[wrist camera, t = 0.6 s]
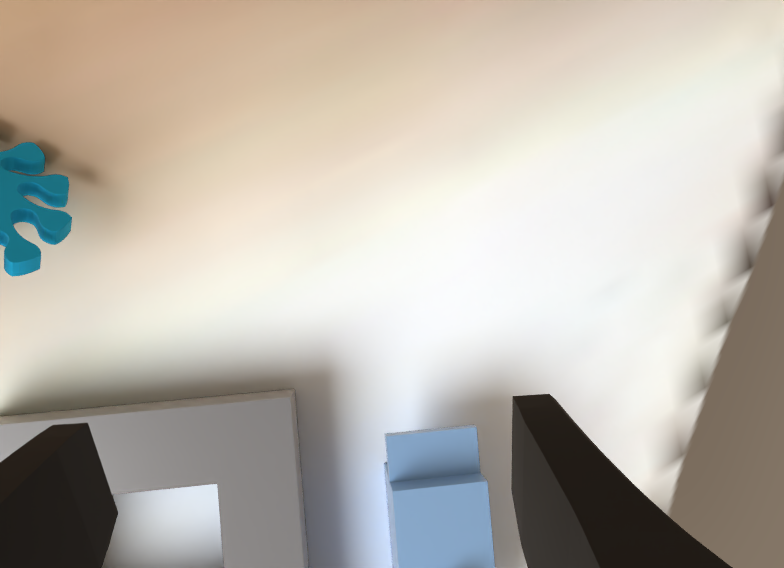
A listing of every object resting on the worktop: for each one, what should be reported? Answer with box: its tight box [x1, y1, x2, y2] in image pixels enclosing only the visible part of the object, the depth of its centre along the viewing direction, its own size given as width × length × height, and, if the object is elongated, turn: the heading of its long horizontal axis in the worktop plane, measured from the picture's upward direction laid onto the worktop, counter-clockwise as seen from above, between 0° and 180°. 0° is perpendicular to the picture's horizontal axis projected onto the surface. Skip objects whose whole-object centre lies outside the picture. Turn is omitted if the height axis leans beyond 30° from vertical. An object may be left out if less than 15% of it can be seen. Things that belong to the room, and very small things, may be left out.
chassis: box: [0, 389, 309, 568], centre depth 30 cm, size 12×14×3 cm
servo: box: [384, 425, 495, 568], centre depth 30 cm, size 4×10×6 cm, turn 5°
